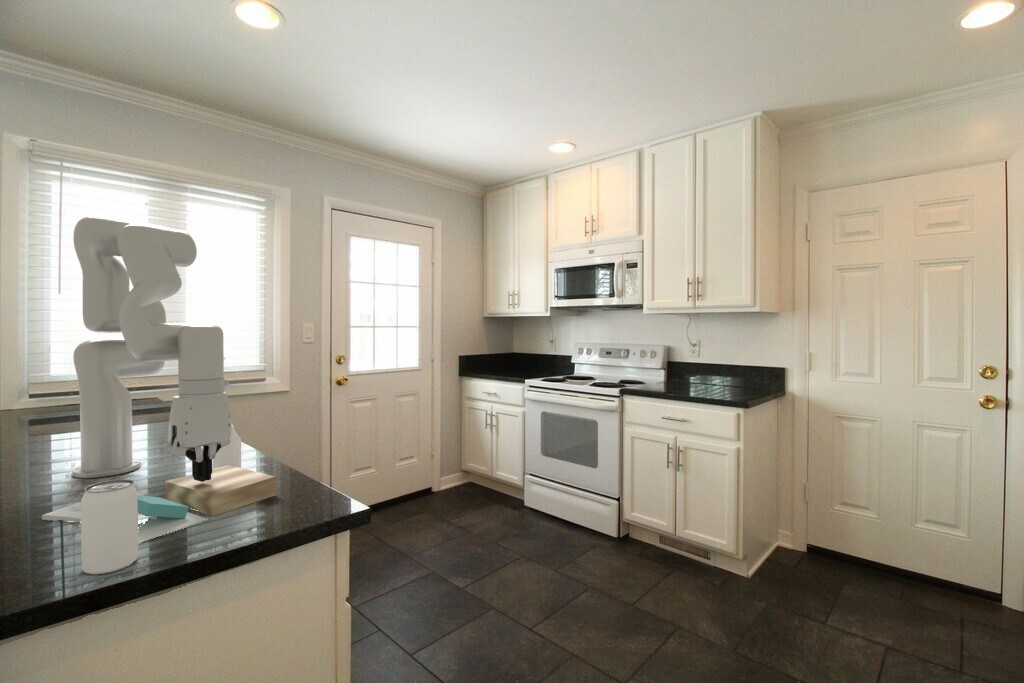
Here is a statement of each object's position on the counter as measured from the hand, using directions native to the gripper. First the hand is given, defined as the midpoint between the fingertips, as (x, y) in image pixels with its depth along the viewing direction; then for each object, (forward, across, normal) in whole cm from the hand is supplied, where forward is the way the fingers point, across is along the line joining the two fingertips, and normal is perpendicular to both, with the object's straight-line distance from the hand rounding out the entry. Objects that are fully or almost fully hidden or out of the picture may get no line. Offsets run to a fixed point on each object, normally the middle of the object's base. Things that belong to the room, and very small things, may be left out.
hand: (202, 479), depth 97 cm
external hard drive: (+6, +11, -15) cm, 20 cm away
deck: (+5, -4, 0) cm, 6 cm away
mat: (+5, +10, 0) cm, 11 cm away
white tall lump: (+5, -14, -15) cm, 21 cm away
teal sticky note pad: (+1, +8, 0) cm, 9 cm away
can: (+5, +21, +13) cm, 25 cm away
